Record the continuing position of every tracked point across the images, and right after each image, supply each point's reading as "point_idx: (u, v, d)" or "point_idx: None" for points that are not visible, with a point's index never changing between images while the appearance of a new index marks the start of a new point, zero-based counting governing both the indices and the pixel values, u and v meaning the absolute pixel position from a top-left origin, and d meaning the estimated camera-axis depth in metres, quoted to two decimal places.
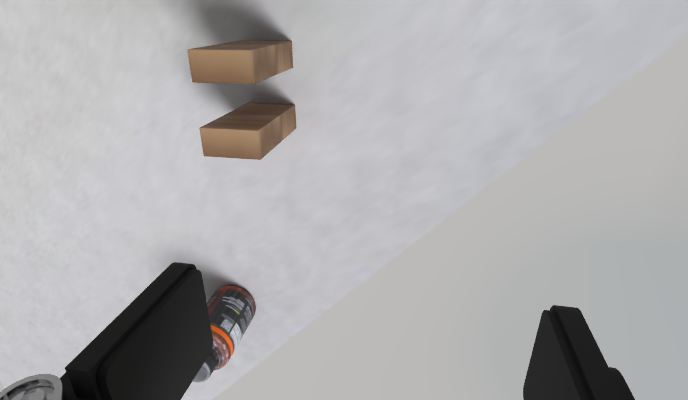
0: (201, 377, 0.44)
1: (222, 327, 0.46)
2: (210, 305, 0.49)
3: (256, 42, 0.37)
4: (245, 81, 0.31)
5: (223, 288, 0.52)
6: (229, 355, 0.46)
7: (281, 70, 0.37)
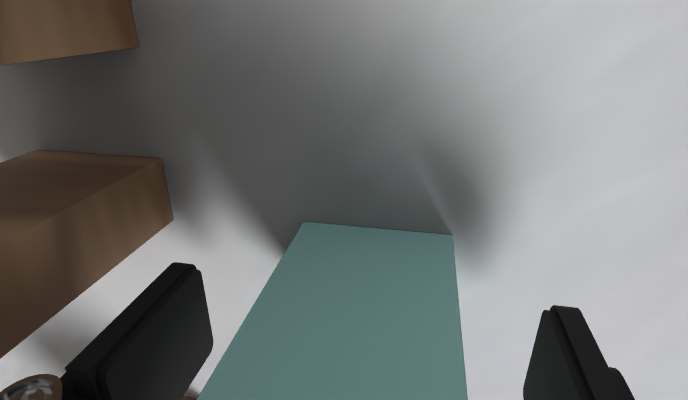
0: None
1: None
2: None
3: None
4: None
5: None
6: None
7: None
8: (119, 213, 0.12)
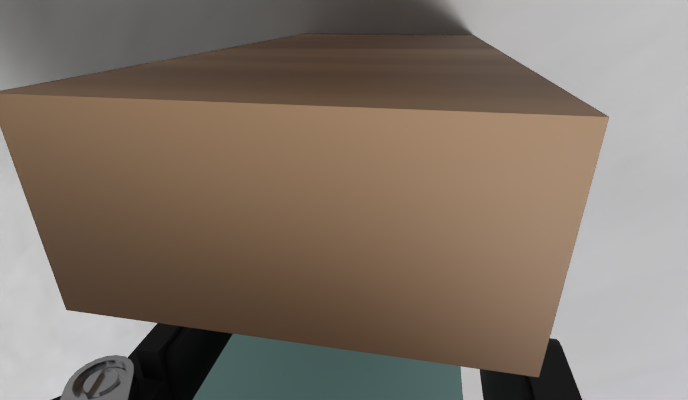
0: None
1: None
2: None
3: None
4: None
5: None
6: None
7: None
8: None
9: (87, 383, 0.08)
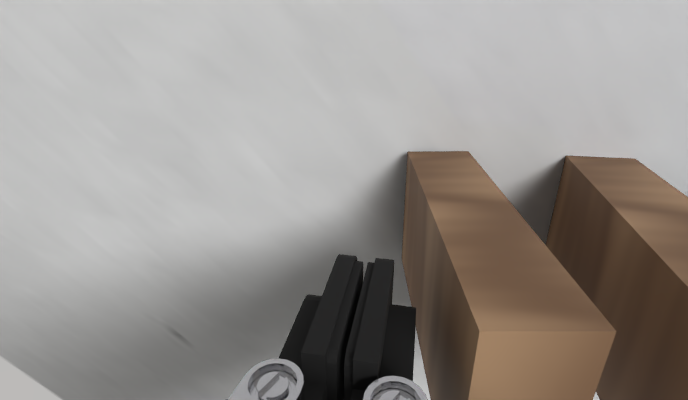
0: None
1: None
2: None
3: None
4: None
5: None
6: None
7: None
8: (619, 181, 0.13)
9: (262, 381, 0.08)
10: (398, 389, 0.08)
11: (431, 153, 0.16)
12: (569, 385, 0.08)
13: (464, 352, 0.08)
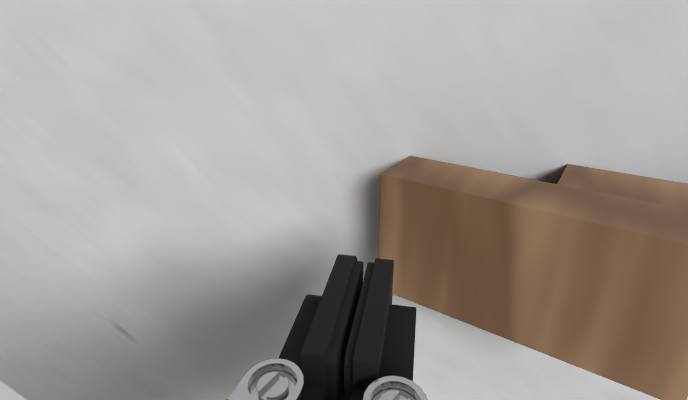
0: None
1: None
2: None
3: None
4: None
5: None
6: None
7: None
8: (645, 190, 0.13)
9: (262, 381, 0.08)
10: (398, 389, 0.08)
11: (398, 167, 0.15)
12: None
13: None
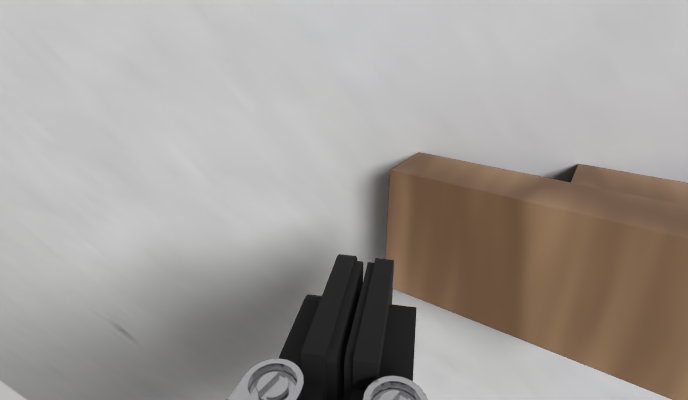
0: None
1: None
2: None
3: None
4: None
5: None
6: None
7: None
8: (658, 191, 0.13)
9: (262, 381, 0.08)
10: (398, 389, 0.08)
11: (407, 163, 0.15)
12: None
13: None
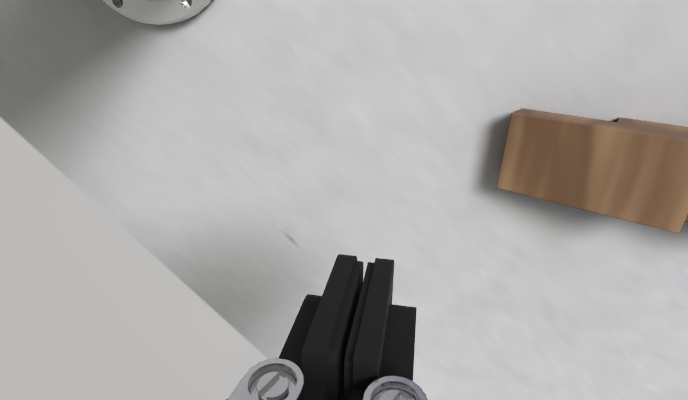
0: None
1: None
2: None
3: None
4: None
5: None
6: None
7: None
8: (666, 128, 0.24)
9: (262, 381, 0.08)
10: (398, 389, 0.08)
11: (519, 112, 0.26)
12: None
13: None
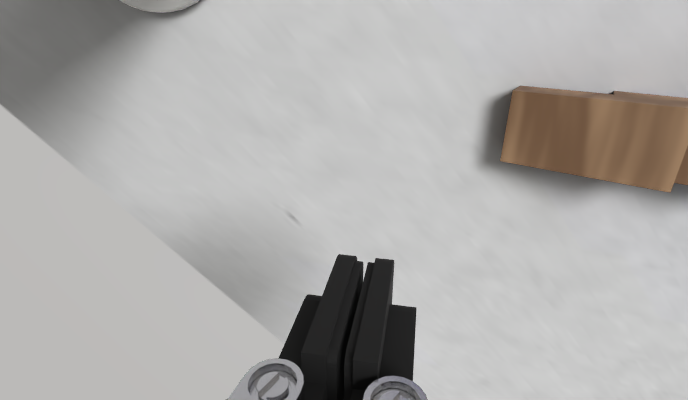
0: None
1: None
2: None
3: None
4: None
5: None
6: None
7: None
8: (659, 98, 0.26)
9: (262, 381, 0.08)
10: (398, 389, 0.08)
11: (519, 88, 0.28)
12: None
13: (681, 127, 0.23)
